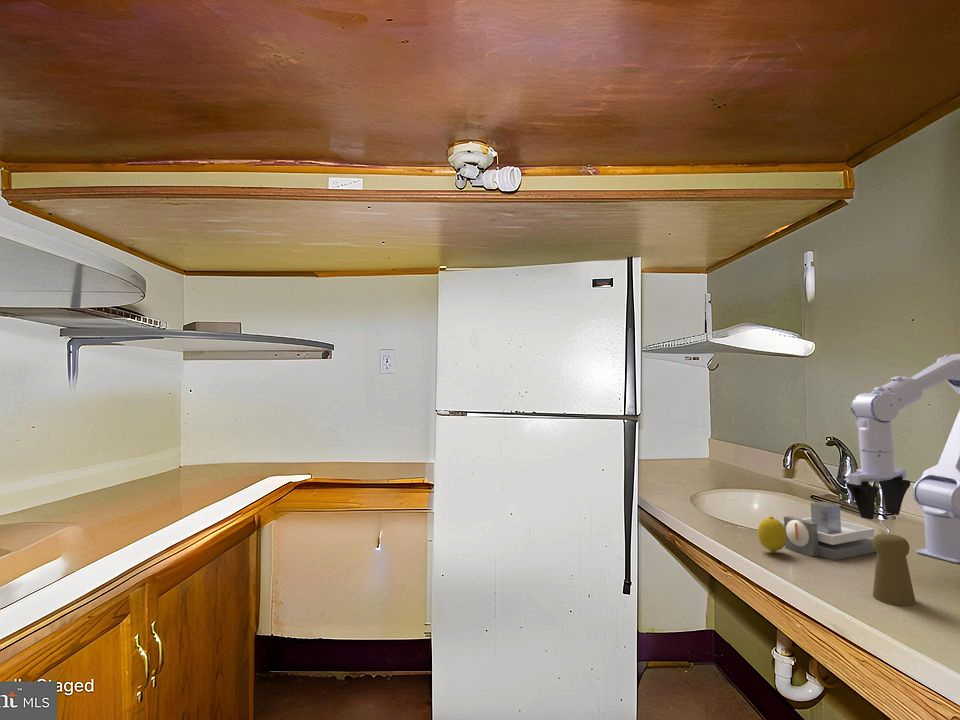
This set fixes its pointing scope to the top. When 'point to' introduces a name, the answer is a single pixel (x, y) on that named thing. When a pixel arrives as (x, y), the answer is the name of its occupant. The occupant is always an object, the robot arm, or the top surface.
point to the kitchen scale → (827, 539)
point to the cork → (892, 571)
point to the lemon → (772, 534)
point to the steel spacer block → (826, 517)
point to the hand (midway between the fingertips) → (880, 516)
